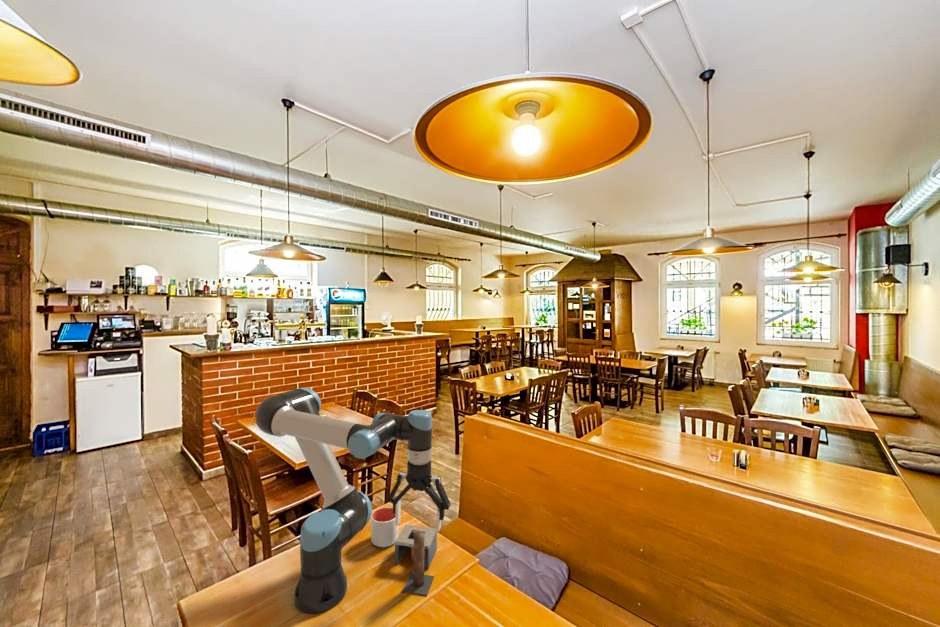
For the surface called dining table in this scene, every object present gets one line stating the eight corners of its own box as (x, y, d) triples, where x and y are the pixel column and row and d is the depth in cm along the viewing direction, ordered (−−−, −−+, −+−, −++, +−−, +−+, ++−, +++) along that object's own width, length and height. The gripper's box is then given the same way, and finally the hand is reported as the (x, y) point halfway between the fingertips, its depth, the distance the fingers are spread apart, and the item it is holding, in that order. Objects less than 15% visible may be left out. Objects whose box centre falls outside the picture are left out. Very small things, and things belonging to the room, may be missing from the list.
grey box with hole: (394, 564, 130) (394, 541, 129) (405, 545, 140) (405, 524, 139) (428, 569, 127) (428, 546, 127) (436, 550, 137) (436, 528, 137)
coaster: (402, 591, 118) (402, 590, 118) (411, 573, 125) (411, 572, 125) (426, 596, 116) (426, 594, 116) (434, 577, 124) (434, 576, 124)
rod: (411, 586, 119) (412, 537, 119) (415, 578, 123) (415, 530, 122) (422, 588, 119) (422, 538, 118) (425, 580, 122) (425, 532, 121)
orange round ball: (409, 560, 132) (409, 547, 132) (413, 552, 136) (413, 540, 136) (419, 561, 131) (419, 549, 131) (423, 554, 135) (423, 542, 135)
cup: (403, 537, 144) (403, 512, 144) (384, 552, 136) (384, 525, 135) (384, 529, 149) (384, 504, 149) (365, 542, 141) (365, 516, 141)
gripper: (377, 461, 118) (376, 527, 119) (455, 470, 113) (453, 539, 114) (387, 451, 125) (386, 514, 126) (460, 459, 120) (459, 524, 121)
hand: (418, 526), depth 120 cm, fingers open, 13 cm apart
